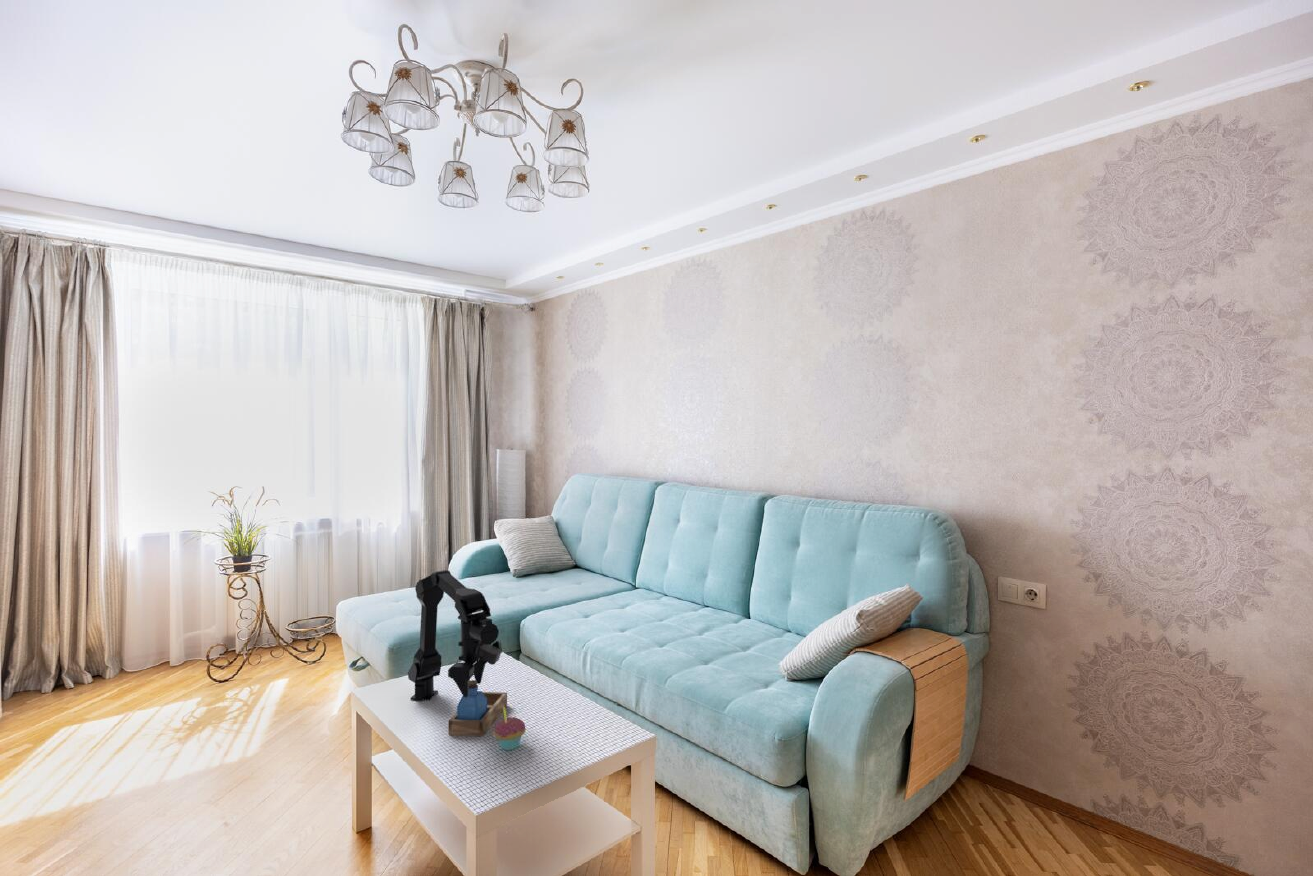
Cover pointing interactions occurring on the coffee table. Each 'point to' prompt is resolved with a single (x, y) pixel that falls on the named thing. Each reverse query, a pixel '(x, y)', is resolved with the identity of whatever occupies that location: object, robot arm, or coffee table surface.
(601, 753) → the coffee table surface
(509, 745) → the cupcake
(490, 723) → the wooden divided tray
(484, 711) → the perfume bottle
